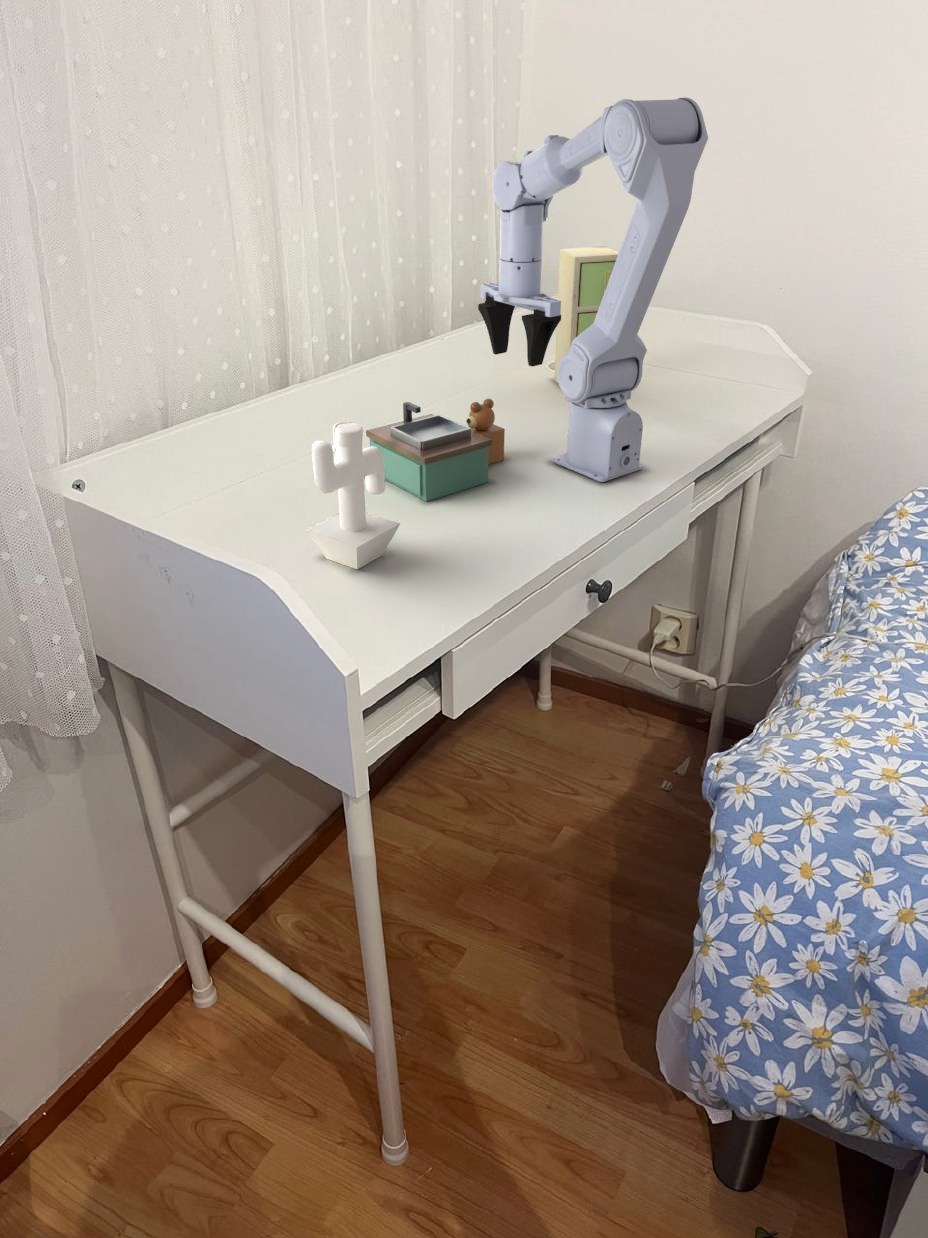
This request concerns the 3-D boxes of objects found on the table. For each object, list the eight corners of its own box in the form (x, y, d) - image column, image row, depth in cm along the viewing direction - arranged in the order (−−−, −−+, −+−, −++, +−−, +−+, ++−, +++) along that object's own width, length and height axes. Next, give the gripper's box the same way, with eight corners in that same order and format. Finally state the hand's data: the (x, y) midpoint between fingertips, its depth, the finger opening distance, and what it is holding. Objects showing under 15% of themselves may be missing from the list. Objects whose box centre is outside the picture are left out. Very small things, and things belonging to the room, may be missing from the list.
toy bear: (503, 459, 132) (505, 400, 127) (475, 468, 129) (475, 407, 125) (486, 452, 134) (487, 393, 130) (458, 460, 131) (458, 400, 127)
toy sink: (491, 482, 125) (492, 415, 120) (421, 504, 119) (419, 435, 114) (432, 454, 133) (431, 391, 129) (363, 473, 127) (360, 408, 123)
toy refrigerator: (568, 393, 157) (576, 256, 146) (552, 380, 163) (559, 247, 152) (614, 389, 159) (625, 254, 148) (596, 376, 165) (606, 245, 154)
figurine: (407, 549, 108) (404, 419, 100) (351, 582, 101) (343, 445, 94) (358, 533, 112) (351, 406, 104) (300, 563, 105) (288, 430, 97)
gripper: (463, 253, 134) (463, 352, 141) (535, 270, 124) (530, 375, 131) (502, 248, 138) (500, 344, 145) (574, 264, 128) (568, 366, 135)
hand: (517, 358), depth 138 cm, fingers open, 7 cm apart
